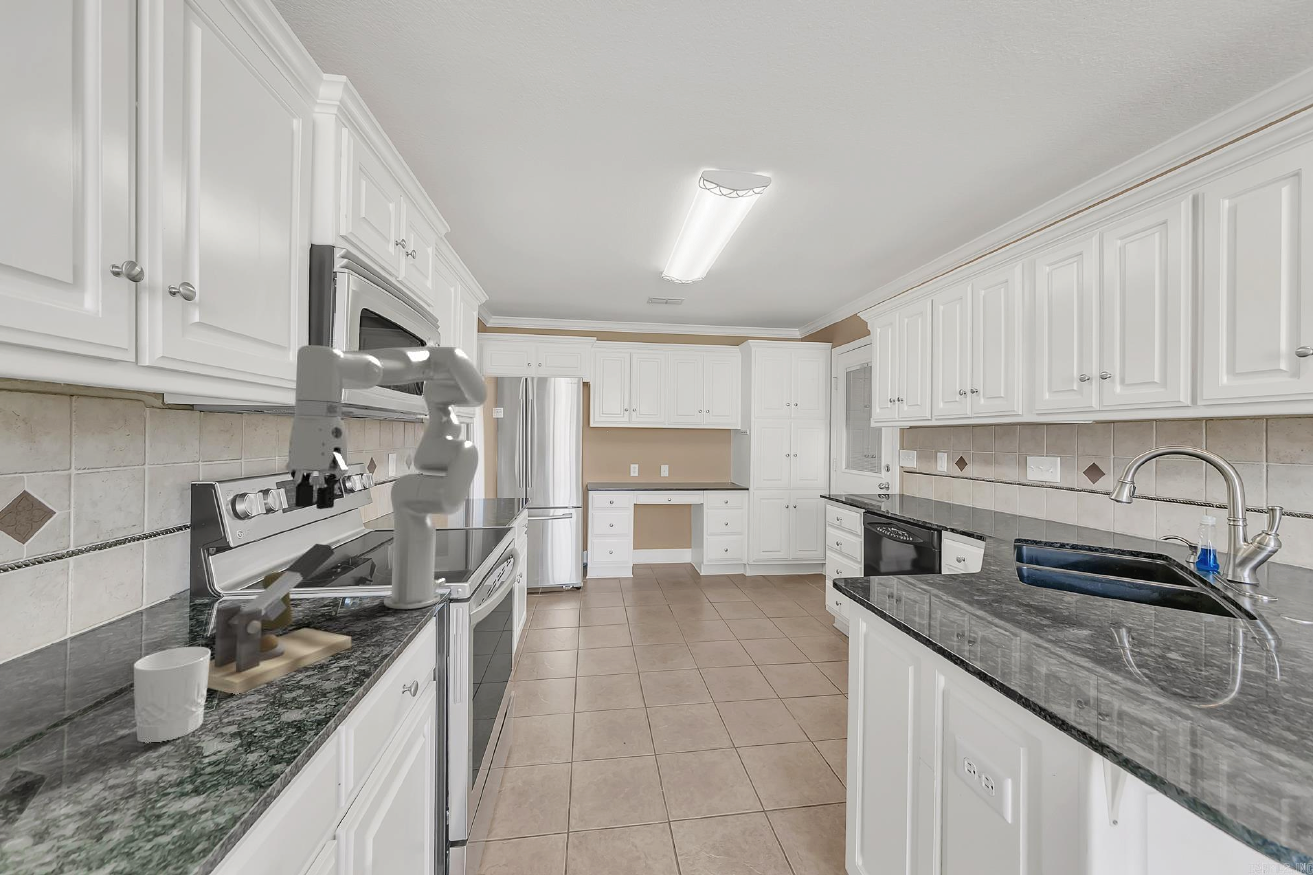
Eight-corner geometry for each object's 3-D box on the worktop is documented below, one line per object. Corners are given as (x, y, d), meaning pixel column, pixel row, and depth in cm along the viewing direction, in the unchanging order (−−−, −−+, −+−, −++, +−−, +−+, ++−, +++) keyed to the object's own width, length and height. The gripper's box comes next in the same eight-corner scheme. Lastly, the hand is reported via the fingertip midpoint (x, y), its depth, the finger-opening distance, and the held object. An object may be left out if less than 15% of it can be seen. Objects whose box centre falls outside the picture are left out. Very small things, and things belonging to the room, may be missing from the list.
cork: (274, 630, 110) (277, 577, 110) (250, 627, 112) (252, 575, 112) (299, 621, 116) (301, 570, 116) (276, 618, 118) (278, 568, 118)
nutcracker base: (304, 637, 107) (307, 580, 107) (350, 647, 104) (353, 587, 104) (184, 681, 87) (187, 611, 87) (236, 694, 84) (239, 621, 84)
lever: (325, 558, 106) (316, 543, 104) (339, 560, 105) (330, 545, 103) (237, 636, 91) (225, 620, 89) (253, 639, 90) (240, 623, 88)
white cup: (128, 729, 73) (131, 656, 73) (203, 709, 79) (206, 642, 79) (132, 753, 68) (135, 675, 68) (212, 730, 74) (215, 658, 74)
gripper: (369, 413, 103) (365, 508, 103) (303, 411, 108) (300, 501, 108) (335, 411, 96) (330, 513, 96) (266, 409, 101) (262, 505, 101)
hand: (314, 506), depth 102 cm, fingers open, 4 cm apart
